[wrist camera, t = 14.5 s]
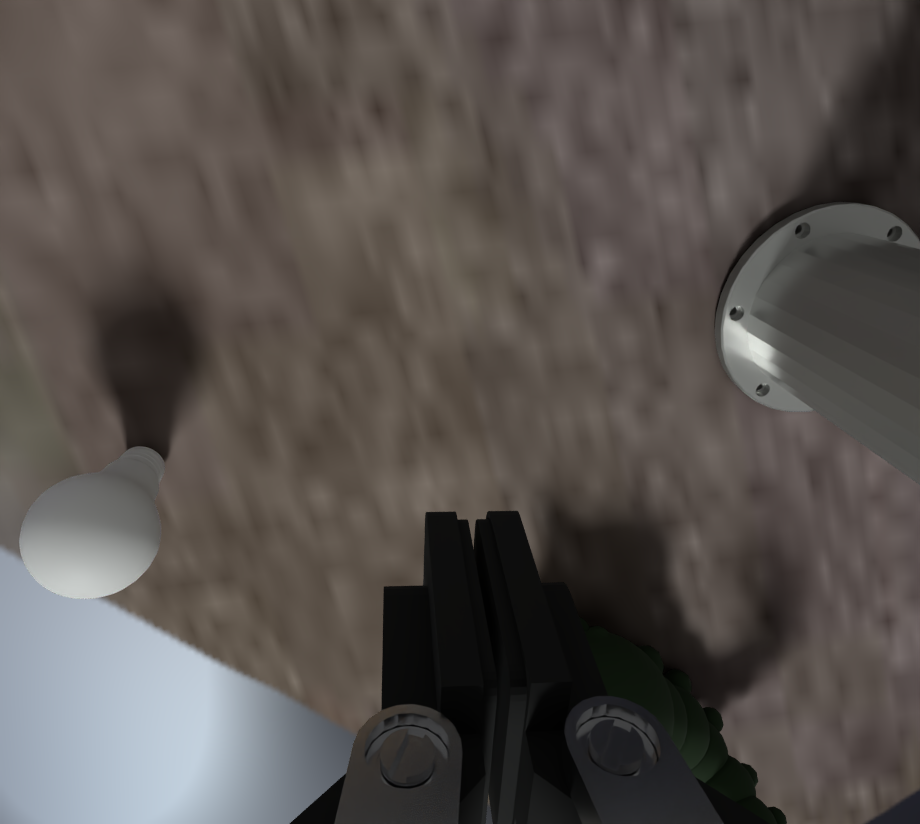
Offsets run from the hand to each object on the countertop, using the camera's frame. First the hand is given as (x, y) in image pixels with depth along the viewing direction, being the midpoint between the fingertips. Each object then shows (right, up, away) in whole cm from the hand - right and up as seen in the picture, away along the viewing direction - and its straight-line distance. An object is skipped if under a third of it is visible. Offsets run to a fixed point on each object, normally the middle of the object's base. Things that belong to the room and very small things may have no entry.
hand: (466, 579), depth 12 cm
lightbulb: (-19, 0, +28) cm, 34 cm away
